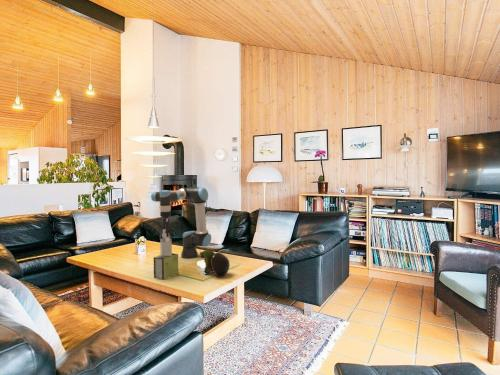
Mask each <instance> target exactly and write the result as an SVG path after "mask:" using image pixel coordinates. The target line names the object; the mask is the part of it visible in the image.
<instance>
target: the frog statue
mask: <svg viewBox="0 0 500 375" xmlns="http://www.w3.org/2000/svg"><path fill="white" fill-rule="evenodd" d="M199 255H200V257H201V258H202V259H204V263H205V267H204V269H203V273H204V272H205V273H208V274H210V273H212V271H214V272H213V273H214V274H215V276H216V277H220V278H221V277H224V276H225V275H227V274H228V272H229V270H230V264H231V263H230V261H229V258H228V257H227V256H226V255H225V254H223V253H221V252H214V251H213V250H211V249H204V250H203V251H200V252H199ZM208 274H207V275H208Z"/></svg>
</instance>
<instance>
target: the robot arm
mask: <svg viewBox="0 0 500 375" xmlns="http://www.w3.org/2000/svg"><path fill="white" fill-rule="evenodd" d="M150 196H151V197H150V198H151V200H152V202H159V204H160V205H159V210H160V212H159V215H160V217H161V218H162V225H161V226H162V227H161V228H162V239H165V240H166V242H168V241H169V238H170V219H169V217H171V215H172V214H171V213H172V212H171V211H172V210H171V209H172V206H171V203H176V202H179V201H183V200H185V201H192V204H193V205H194V208H195V209H194V212H195V221H196V223H195V224H196V230H189V231H185V232H183V233H182V251H181V254H180V256H181V257H180V258H182V259H194V258H197V257H198V256H199V254H198V250H197V247H203V248H204V247H208V246H210V244H211V242H212V235H211V233H209V230H208V229H207V220H206V209H205V208H206V205H205V204H206V203H207V201H208V199H209V191H208V189H206V188H205V187H202V186H200V187H191V186H190V187H184V188H180V189H177V190H168V189H165V190H163V189H162V190H160V191H153V192H152V193H151V195H150Z"/></svg>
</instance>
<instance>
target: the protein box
mask: <svg viewBox="0 0 500 375" xmlns="http://www.w3.org/2000/svg"><path fill="white" fill-rule="evenodd" d="M178 275H179V254H178V253H174V252H172V256H168V257H162V256H161V255H160V254H159V255H156V256H153V278H154V279H158V280H162V281H164V280H168V279H171V278H173V277H175V276H178Z"/></svg>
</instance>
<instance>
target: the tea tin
mask: <svg viewBox="0 0 500 375" xmlns="http://www.w3.org/2000/svg"><path fill="white" fill-rule="evenodd" d="M159 240H160V244H159V245H160V246H159V248H160V254H159V255H161V256H162V257H168V256H172V253H173V251H172V250H173V249H172V247H173V246H172V245H173V243H172V241H173V239H172V238H171V237H169V241H168V242H166V240H165V238H159Z"/></svg>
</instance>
